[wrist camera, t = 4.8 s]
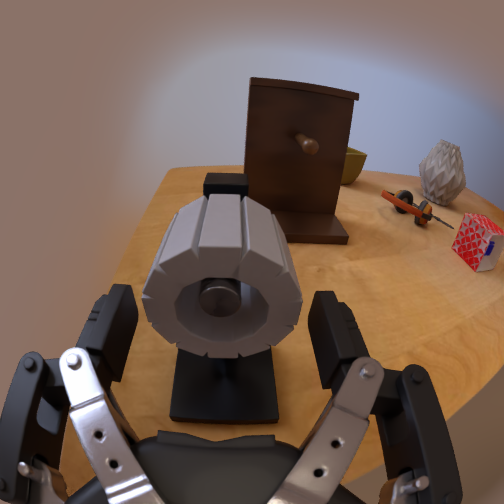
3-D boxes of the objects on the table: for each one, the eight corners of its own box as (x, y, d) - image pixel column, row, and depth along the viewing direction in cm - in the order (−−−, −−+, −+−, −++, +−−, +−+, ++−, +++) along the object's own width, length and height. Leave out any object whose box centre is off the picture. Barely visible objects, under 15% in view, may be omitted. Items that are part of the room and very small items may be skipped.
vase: (421, 187, 76) (433, 135, 66) (461, 208, 66) (476, 154, 56) (404, 192, 68) (418, 131, 58) (452, 217, 57) (471, 152, 47)
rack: (242, 241, 39) (253, 74, 26) (241, 210, 47) (249, 78, 35) (347, 245, 40) (378, 95, 28) (328, 215, 48) (349, 92, 36)
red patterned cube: (471, 247, 44) (484, 215, 39) (493, 269, 37) (509, 235, 33) (451, 248, 43) (465, 212, 38) (475, 272, 36) (492, 234, 32)
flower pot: (361, 186, 66) (368, 154, 61) (340, 188, 63) (346, 153, 58) (338, 175, 73) (343, 145, 68) (316, 176, 69) (321, 144, 64)
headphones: (460, 219, 49) (434, 207, 39) (452, 239, 51) (422, 234, 41) (410, 190, 62) (369, 173, 51) (403, 208, 64) (360, 196, 54)
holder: (171, 420, 17) (104, 246, 8) (181, 340, 24) (160, 172, 15) (277, 423, 18) (339, 253, 9) (268, 342, 24) (294, 176, 16)
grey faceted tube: (158, 355, 13) (128, 245, 9) (172, 293, 17) (159, 193, 13) (288, 357, 13) (315, 248, 9) (277, 294, 17) (291, 196, 13)
